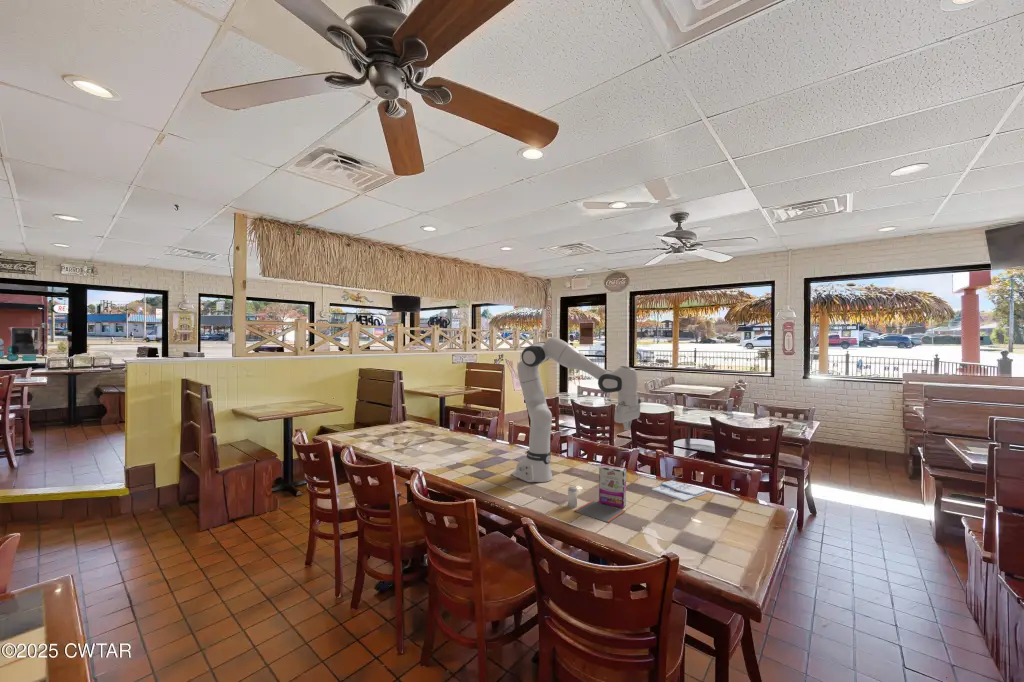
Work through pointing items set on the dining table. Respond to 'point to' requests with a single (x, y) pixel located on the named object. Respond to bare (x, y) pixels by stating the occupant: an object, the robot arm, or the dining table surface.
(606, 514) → the bar mat
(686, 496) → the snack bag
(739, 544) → the dining table surface
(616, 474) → the candy bar box
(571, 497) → the salt shaker
